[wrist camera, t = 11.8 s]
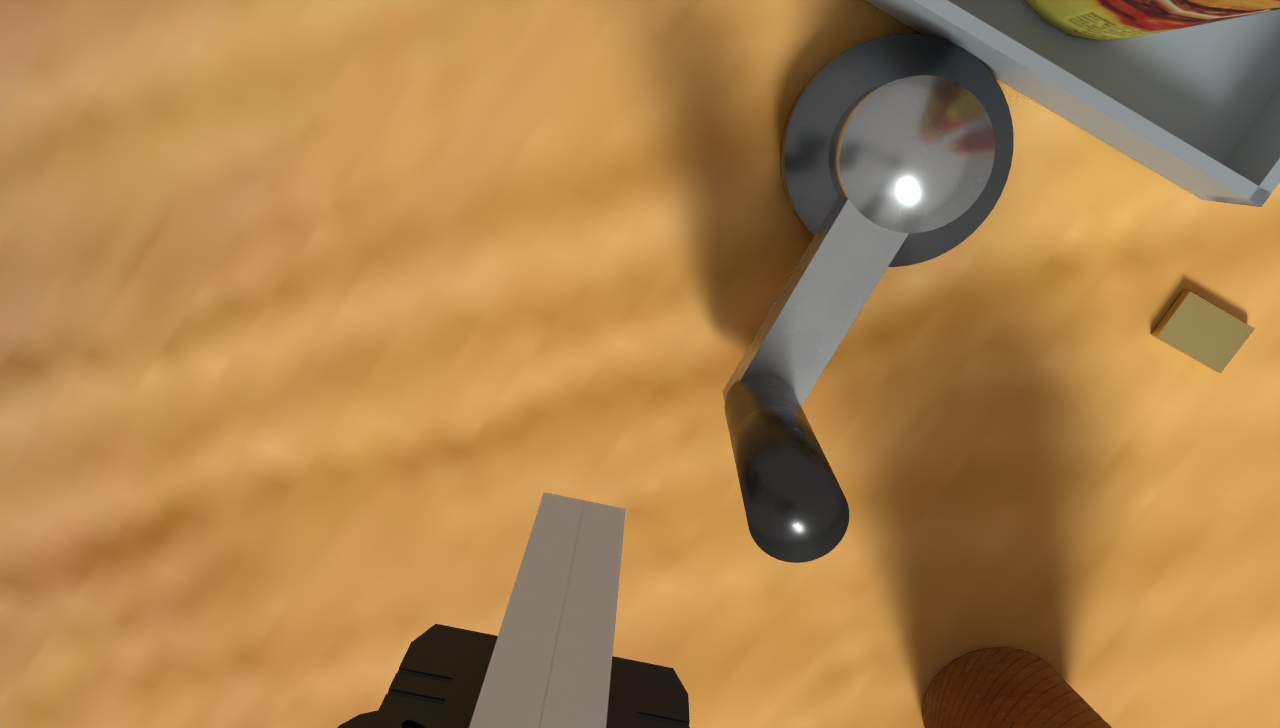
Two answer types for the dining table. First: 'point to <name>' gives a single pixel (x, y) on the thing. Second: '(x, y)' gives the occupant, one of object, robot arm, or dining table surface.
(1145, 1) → the canned food
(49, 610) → the dining table surface
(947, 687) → the disposable coffee cup
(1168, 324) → the beige flat block
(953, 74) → the crank base
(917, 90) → the crank
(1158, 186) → the dining table surface
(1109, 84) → the tray
